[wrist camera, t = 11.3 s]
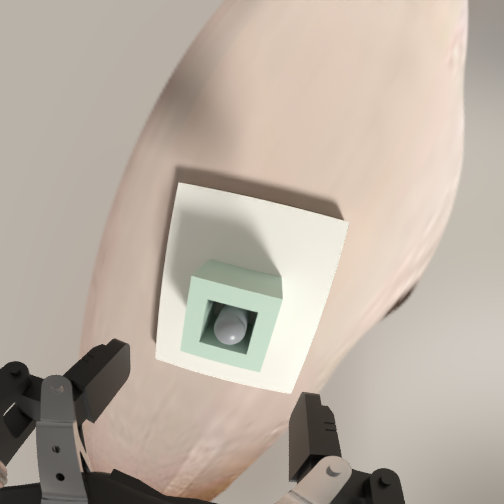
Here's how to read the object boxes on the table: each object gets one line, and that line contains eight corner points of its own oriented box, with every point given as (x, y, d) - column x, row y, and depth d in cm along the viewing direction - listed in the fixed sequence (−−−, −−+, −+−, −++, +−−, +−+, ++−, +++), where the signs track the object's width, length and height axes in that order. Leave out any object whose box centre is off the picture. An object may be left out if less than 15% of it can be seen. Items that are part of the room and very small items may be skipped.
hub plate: (184, 183, 21) (145, 178, 14) (344, 220, 20) (375, 232, 14) (161, 350, 24) (130, 393, 18) (290, 384, 24) (292, 436, 17)
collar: (209, 258, 20) (191, 275, 16) (281, 277, 20) (283, 299, 16) (197, 322, 22) (180, 350, 17) (263, 340, 21) (259, 372, 17)
